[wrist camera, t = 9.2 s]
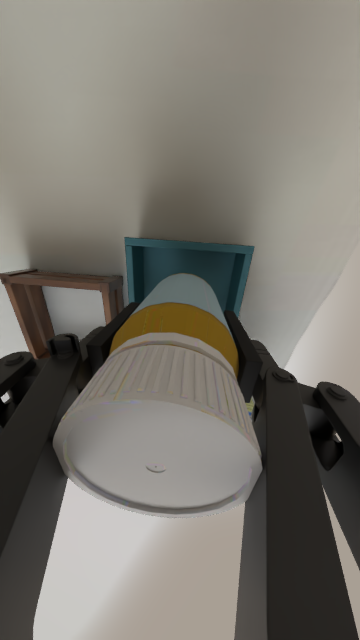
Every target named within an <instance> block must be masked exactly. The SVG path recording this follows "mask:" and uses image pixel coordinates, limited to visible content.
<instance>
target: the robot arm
mask: <svg viewBox="0 0 360 640" xmlns="http://www.w3.org/2000/svg"><path fill="white" fill-rule="evenodd" d="M139 305H140V303H136V302H131V303H130V304H129V305H128V306H127V307H126V308H124V309H123V310H122V311H121V312H120V313H119V314H118V315H117V316H116V317H115V318H114V319H113V320H112V321H111V322H109V323H108V324H107V325H106V326H105V327H103V326H100V327H98V328H96V329H94V330H93V331H92V332H90V333H89V334H88V335H87V336H86V337H85V338H83V339H82V340H81V341H80V342H79V341H78V336H76V335H75V334H60V335H57V336H54V337H52V338H50V339H48V340H47V341H46V344H47V347H48V351H49V354H50V357H49V358H45V359H34V357H33V354H32V353H31V352H26V351H25V352H16V353H12V354H10V355H7V356H5V357H3V358H1V359H0V640H33V624H34V617H35V612H36V607H37V603H38V599H39V595H40V591H41V587H42V582H43V578H44V574H45V570H46V566H47V562H48V558H49V554H50V549H51V545H52V541H53V537H54V533H55V529H56V525H57V521H58V516H59V512H60V508H61V504H62V500H63V496H64V492H65V488H66V483H67V479H68V477H67V476H66V475H65V474H64V471H63V469H62V466H61V464H60V462H59V459H58V457H57V455H56V452H55V450H54V448H53V438H54V435H55V432H56V430H57V428H58V425H59V423H60V422H61V419H62V417H63V416H64V415H65V413H66V412H67V411H68V409H69V408H70V407H71V405H72V404H73V403H74V401H75V400H76V399H77V397H78V396H79V395H80V393H81V392H82V391H83V389H84V388H85V387H86V385H87V384H88V383H89V381H90V380H91V379H92V378H93V376H94V375H95V374H96V372H97V371H98V370H99V368H100V367H102V366H103V364H104V363H105V361H106V360H107V358H108V357H109V353H110V348H111V345H112V341H113V338H114V336H115V334H116V333H117V331H118V330H119V329H120V327H121V326H122V325H123V324H124V322H125V321H126V320H127V319H128V318H129V317H130V315H131V314H132V313H133V312H134V311H135V310H136V309H137V307H138V306H139ZM224 317H225V320H226V322H227V325H228V327H229V330H230V332H231V334H232V337H233V339H234V342H235V345H236V348H237V352H238V359H239V371H238V377H237V382H238V386H239V388H240V390H241V393H242V394H243V397H244V400H245V403H250V400H251V397H252V396H253V399H254V401H255V404H254V407H253V410H252V413H251V415H250V419H251V420H252V425H253V429H254V432H255V435H256V438H257V441H258V444H259V447H260V451H261V455H262V457H261V459H262V468H263V470H262V472H261V474H260V476H259V478H258V480H257V482H256V483H255V485H254V487H253V489H252V491H251V493H250V495H249V497H248V499H247V501H245V513H244V526H243V538H242V550H241V563H240V576H239V589H238V600H237V601H238V602H237V613H236V626H235V639H234V640H359V638H358V633H357V629H356V625H355V621H354V617H353V612H352V608H351V604H350V600H349V596H348V591H347V588H346V583H345V579H344V575H343V570H342V566H341V562H340V558H339V554H338V550H337V545H336V541H335V537H334V533H333V529H332V525H331V520H330V516H329V512H328V508H327V504H326V499H325V495H324V492H323V488H324V490H325V492H326V494H327V497H328V499H329V501H330V504H331V506H332V508H333V510H334V513H335V515H336V517H337V520H338V522H339V524H340V526H341V529H342V531H343V533H344V536H345V538H346V540H347V542H348V545H349V547H350V549H351V551H352V554H353V556H354V558H355V561H356V563H357V565H358V567H359V570H360V403H359V402H358V400H357V399H356V398H355V397H354V396H353V395H352V394H351V393H350V392H349V391H347V390H345V389H344V388H342V387H341V386H339V385H336V384H333V383H330V382H320V383H318V385H317V387H316V388H313V387H310V386H307V385H303V384H300V383H298V382H297V380H296V378H295V377H294V376H293V375H292V374H291V373H289V372H288V371H286V370H284V369H281V368H279V367H278V365H277V364H276V362H275V361H274V359H273V358H272V356H271V355H270V353H269V352H268V351H267V349H266V348H265V346H264V345H263V344H262V343H260V342H259V341H257V340H250V338H249V337H248V335H247V333H246V331H245V330H244V328H243V326H242V325H241V323H240V321H239V319H238V318H237V316H236V314H235V312H234V311H228V310H224ZM6 392H7V393H8V395H9V397H10V399H9V400H7V401H6V402H5V403H3V402H2V400H1V397H2V396H3V395H4V394H5V393H6ZM336 433H337V434H338V435H339V437H340V438H341V442H340V441H339V440H338V438H337V437H336V435H335V434H336ZM322 485H323V487H322Z"/></svg>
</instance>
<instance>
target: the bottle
mask: <svg viewBox="0 0 360 640" xmlns="http://www.w3.org/2000/svg"><path fill="white" fill-rule="evenodd" d="M238 371H239V359H238V352H237V348H236V345H235V342H234V339H233V337H232V334H231V332H230V330H229V327H228V325H227V322H226V320H225V317H224V315H223V312H222V310H221V308H220V305H219V303H218V300H217V298H216V295H215V293H214V291H213V290H212V288H211V286H210V285H209V284H208V283H207V282H206V281H205V280H203V279H202V278H200V277H198V276H196V275H193V274H188V273H178V274H173V275H170V276H168V277H167V278H165V279H163V280H162V281H161V282H160V283H159V284H158V285H157V286H156V287H155V288H154V289H153V290H152V292H151V293H150V294H149V295H148V296H147V297H146V298H145V300H144V301H143V302H142V303H141V304H140V305H139V306H138V307H137V309H136V310H135V311H134V312H133V313H132V314H131V315H130V317H129V318H128V319H127V320H126V321H125V322H124V324H123V325H122V326H121V327H120V329H119V330H118V331H117V333H116V334H115V336H114V338H113V341H112V345H111V348H110V353H109V357H108V358H107V360H106V361H105V363H104V364H103V366H102V367H100V368H99V370H98V371H97V372H96V374H95V375H94V376H93V378H92V379H91V380H90V381H89V383H88V384H87V385H86V387H85V388H84V389H83V391H82V392H81V393H80V395H79V396H78V397H77V399H76V400H75V401H74V403H73V404H72V405H71V407H70V408H69V409H68V411H67V412H66V413H65V415H64V416H63V417H62V419H61V422H60V423H59V425H58V428H57V430H56V432H55V435H54V438H53V448H54V450H55V452H56V455H57V457H58V459H59V462H60V464H61V466H62V469H63V471H64V474H65V475H66V476H67V477H68V478H69V479H70V480H71V481H72V482H73V483H74V484H76V485H77V486H78V487H80V488H81V489H82V490H84V491H85V492H87V493H89V494H90V495H92V496H94V497H96V498H97V499H100V500H102V501H104V502H106V503H109V504H111V505H113V506H116V507H119V508H122V509H125V510H128V511H132V512H136V513H140V514H145V515H151V516H158V517H167V518H192V517H193V518H194V517H203V516H209V515H214V514H218V513H222V512H225V511H228V510H230V509H232V508H235V507H237V506H239V505H241V504H242V503H244V502H245V501H247V499H248V497H249V495H250V493H251V491H252V489H253V487H254V485H255V483H256V482H257V480H258V478H259V476H260V474H261V472H262V470H263V468H262V459H261V457H262V455H261V451H260V447H259V444H258V441H257V438H256V435H255V432H254V429H253V425H252V422H251V419H250V416H249V413H248V410H247V407H246V404H245V400H244V397H243V394H242V393H241V390H240V388H239V386H238V382H237V377H238Z"/></svg>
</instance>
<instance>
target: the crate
mask: <svg viewBox="0 0 360 640" xmlns="http://www.w3.org/2000/svg"><path fill="white" fill-rule="evenodd" d="M0 279H1V282H2V284H4V285H5V288H6V290H7V293H8V296H9V298H10V301H11V304H12V306H13V309H14V312H15V314H16V317H17V320H18V322H19V325H20V328H21V330H22V333H23V336H24V338H25V341H26V344H27V346H28V349H29V352H31V353H32V354H33V357H34V359H45V358H49V357H50V354H49V351H48V347H47V344H46V341H47V340H48V339H50V338H52V337H54V336H55V335H54V331H53V328H52V324H51V321H50V317H49V314H48V310H47V307H46V303H45V300H44V296H43V293H42V289H41V286H52V287H64V288H76V289H88V290H100V292H102V298H103V305H104V312H105V320H106V325H107V324H108V323H109V322H111V321H112V320H113V319H114V318H115V317H116V316H117V315H118V314H119V313H120V312H121V311H122V310H123V309H124V307H123V295H122V286H123V277H122V276H112V277H105V276H93V275H80V274H68V273H56V272H43V271H38V270H37V269H25V270H19V271H13V272H6V273H0ZM40 285H41V286H40Z"/></svg>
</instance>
